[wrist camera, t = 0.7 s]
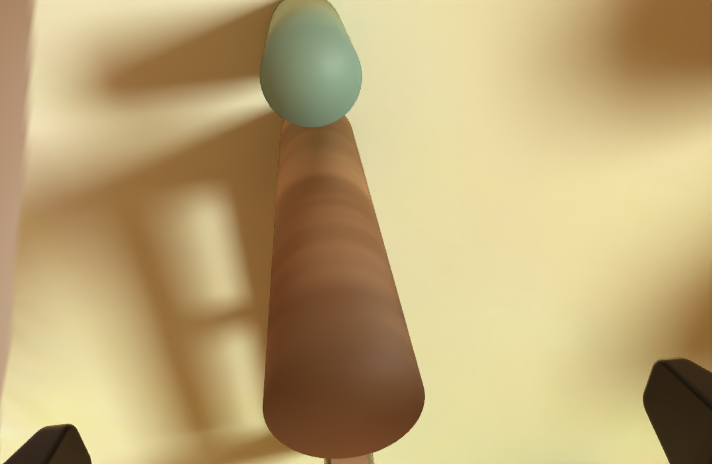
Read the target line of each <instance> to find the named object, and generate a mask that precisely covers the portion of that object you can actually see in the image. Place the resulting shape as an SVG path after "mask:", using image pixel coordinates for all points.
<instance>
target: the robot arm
mask: <svg viewBox="0 0 712 464" xmlns="http://www.w3.org/2000/svg"><path fill="white" fill-rule="evenodd" d="M643 404H644V408H645V410H646V413H647V415H648V417H649V419H650V422H651V424H652V426H653V428H654V430H655V432H656V435H657V437H658V439H659V441H660V443H661V445H662V447H663V450H664V452H665V454H666V456H667V458H668V460H669V463H670V464H712V373H711V372H710V371H708V370H706V369H704V368H702V367H701V366H699V365H697V364H695V363H694V362H692V361H690V360H688V359H685V358H681V357H677V358H667V359H660V360H657V361H656V362H655V363H654V365H653V367H652V370H651V373H650V376H649V379H648V382H647V385H646V387H645V390H644V394H643ZM3 464H92V463H91V458H90V455H89V453H88V451H87V449H86V447H85V445H84V443H83V441H82V439H81V436H80V434H79V432H78V430H77V429H76V427H75V426H73V425H72V424H62V425H53V426H46V427H44V428H42V429H40V430H39V431H38V432H36V433H35V434H34V435H33V436H32V437H31V438H30V439H29V440H28V441H27V442H26V443H25V444H24V445H23V446H22V447H20V448H19V449H18V450H17V451H16V452H15V453H14V454H13V455H12V456H11V457H10V458H9V459H8V460H7V461H6V462H5V463H3Z"/></svg>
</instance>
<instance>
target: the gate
mask: <svg viewBox="0 0 712 464" xmlns="http://www.w3.org/2000/svg"><path fill="white" fill-rule="evenodd" d="M424 400H425V393H424V387H423V383H422V380H421V376H420V372H419V369H418V365H417V362H416V358H415V354H414V351H413V347H412V343H411V340H410V336H409V333H408V329H407V325H406V322H405V318H404V315H403V311H402V307H401V304H400V300H399V297H398V293H397V289H396V286H395V282H394V278H393V275H392V271H391V268H390V264H389V260H388V257H387V253H386V250H385V246H384V242H383V239H382V235H381V232H380V228H379V224H378V221H377V217H376V213H375V210H374V206H373V203H372V199H371V195H370V192H369V188H368V185H367V181H366V177H365V174H364V170H363V167H362V163H361V159H360V156H359V152H358V149H357V145H356V141H355V138H354V134H353V130H352V127H351V125H350V122H349V121H348V119H347V118H346V117H345V115H344V116H343V117H341V118H340V119H339V120H337V121H335V122H333V123H331V124H328V125H325V126H320V127H303V126H299V125H295V124H293V123H290V122H288V121H286V120H285V122H284V124H283V126H282V129H281V133H280V147H279V163H278V178H277V194H276V210H275V225H274V241H273V256H272V272H271V288H270V303H269V319H268V334H267V350H266V366H265V381H264V397H263V415H264V419H265V422H266V424H267V426H268V428H269V430H270V431H271V433H272V434H273V435H274V436H275V437H276V438H277V439H278V440H279V441H280V442H281V443H283V444H284V445H286V446H287V447H289V448H291V449H293V450H295V451H297V452H300V453H302V454H305V455H309V456H313V457H319V458H328V459H331V464H368V461H367V454H370V453H373V452H376V451H379V450H381V449H383V448H385V447H387V446H389V445H391V444H393V443H394V442H396V441H397V440H399V439H400V438H402V437H403V436H404V435H405V434H406V433H407V432H408V431H409V430H410V429H411V428H412V427H413V426H414V425H415V423H416V422H417V420H418V419H419V417H420V414H421V412H422V410H423V406H424Z"/></svg>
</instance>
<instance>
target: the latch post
mask: <svg viewBox="0 0 712 464" xmlns="http://www.w3.org/2000/svg"><path fill="white" fill-rule="evenodd" d="M260 83H261V88H262V91H263V94H264V97H265V99H266V100H267V102H268V104H269V105H270V107H271V108H272V109H273V110H274V111H275V112H276V113H277V114H278V115H279V116H280V117H282V118H283V119H285V120H286V121H288V122H290V123H293V124H295V125H299V126H303V127H320V126H325V125H328V124H331V123H333V122H335V121H337V120H339V119H340V118H341V117H343V116H344V115H345V114H346V113H347V112H348V111H349V110H350V109H351V108H352V106H353V105H354V103H355V101H356V100H357V97H358V95H359V92H360V89H361V83H362V71H361V65H360V61H359V58H358V56H357V54H356V51H355V49H354V47H353V45H352V43H351V41H350V38H349V36H348V34H347V32H346V30H345V28H344V26H343V23H342V21H341V19H340V17H339V15H338V13H337V11H336V10H335V8H334V7H333V6H332V5H331V4H330V2H328V1H327V0H283V1H282V2H281V3H280V4H279V5H278V6H277V8H276V9H275V11H274V13H273V15H272V18H271V22H270V27H269V31H268V35H267V40H266V44H265V48H264V53H263V57H262V62H261V67H260Z"/></svg>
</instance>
